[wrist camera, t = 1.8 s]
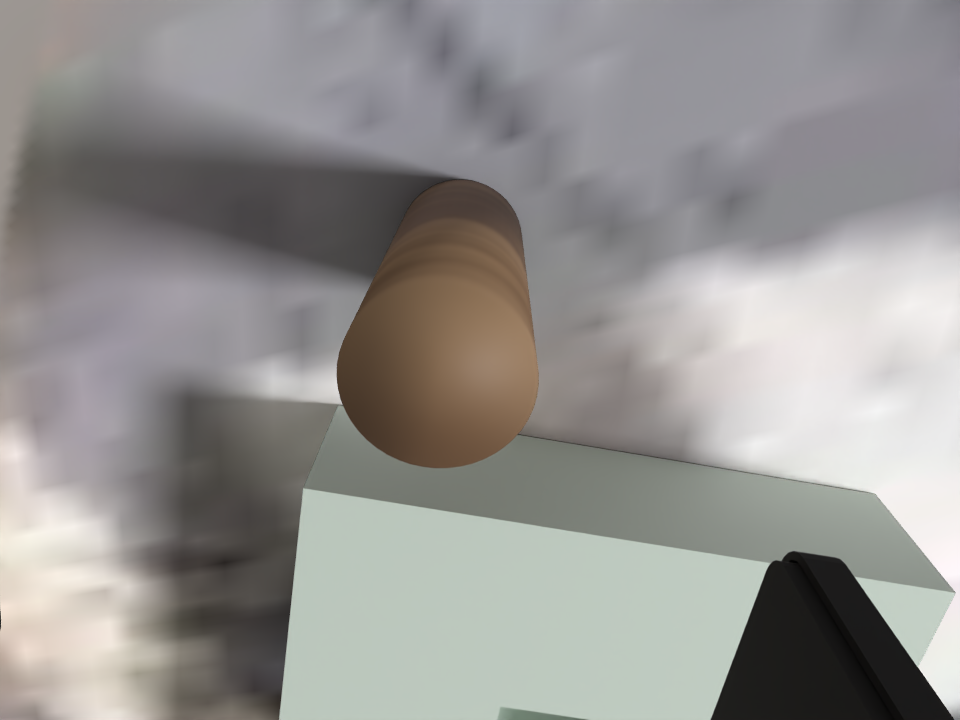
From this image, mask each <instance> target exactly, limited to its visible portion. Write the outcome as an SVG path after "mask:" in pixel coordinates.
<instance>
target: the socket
mask: <svg viewBox="0 0 960 720" xmlns="http://www.w3.org/2000/svg"><path fill="white" fill-rule="evenodd" d="M791 551H797V552H804V553H810V554H817V555H823V556H830V557H835V558H839V559H841V560H842V561H843V562H844V563H845V564H846V565H847V567H848V568H849V570H850V571H851V573H852V574H853V575H854V577H855V578H856V580H857V581H858V583H859V584H860V585H861V587H862V588H863V590H864V591H865V593H866V594H867V595H868V597H869V598H870V600H871V601H872V603H873V604H874V605H875V607H876V608H877V610H878V611H879V613H880V614H881V615H882V617H883V618H884V620H885V621H886V623H887V624H888V625H889V627H890V628H891V630H892V631H893V633H894V634H895V636H896V637H897V638H898V640H899V641H900V643H901V644H902V646H903V647H904V648H905V650H906V651H907V653H908V654H909V656H910V657H911V658H912V660H913V661H914V663H915V664H916V666H917V667H918V666H919V664H920V662H921V660H922V658H923V656H924V654H925V652H926V650H927V648H928V646H929V644H930V643H931V641H932V639H933V637H934V635H935V633H936V631H937V629H938V627H939V625H940V623H941V621H942V619H943V617H944V615H945V613H946V611H947V609H948V607H949V605H950V603H951V601H952V599H953V597H954V595H955V591H954V590H953V589H952V588H951V587H950V585H949V584H948V583H947V582H946V580H945V579H944V578H943V577H942V575H941V574H940V573H939V572H938V571H937V569H936V568H935V567H934V566H933V564H932V563H931V562H930V561H929V559H928V558H927V557H926V556H925V554H924V553H923V552H922V551H921V550H920V548H919V547H918V546H917V545H916V543H915V542H914V541H913V540H912V538H911V537H910V536H909V535H908V534H907V532H906V531H905V530H904V529H903V527H902V526H901V525H900V524H899V522H898V521H897V520H896V519H895V518H894V516H893V515H892V514H891V513H890V511H889V510H888V509H887V508H886V506H885V505H884V504H883V503H882V502H881V500H880V499H879V498H878V497H877V495H876V494H872V493H866V492H860V491H854V490H848V489H842V488H836V487H829V486H823V485H817V484H811V483H805V482H799V481H793V480H787V479H781V478H775V477H769V476H763V475H757V474H751V473H745V472H739V471H733V470H727V469H721V468H715V467H709V466H703V465H697V464H691V463H685V462H679V461H673V460H667V459H661V458H655V457H649V456H643V455H637V454H631V453H625V452H619V451H613V450H607V449H601V448H595V447H588V446H582V445H576V444H570V443H564V442H558V441H552V440H546V439H540V438H534V437H528V436H522V435H517V436H516V437H515V438H514V439H513V440H512V441H511V442H510V443H509V444H507V445H506V446H505V447H504V448H502V449H501V450H500V451H498V452H497V453H495V454H493V455H491V456H490V457H488V458H486V459H484V460H481V461H478V462H476V463H473V464H469V465H465V466H461V467H453V468H428V467H421V466H416V465H412V464H408V463H405V462H403V461H400V460H397V459H395V458H393V457H391V456H389V455H387V454H385V453H384V452H382V451H381V450H379V449H377V448H376V447H375V446H374V445H372V444H371V443H370V442H369V441H367V440H366V439H365V438H364V436H363V435H362V434H361V433H360V432H359V431H358V430H357V429H356V427H355V426H354V425H353V423H352V422H351V420H350V418H349V417H348V415H347V413H346V411H345V409H344V406H341V405H338V407H337V409H336V412H335V414H334V416H333V419H332V421H331V423H330V426H329V428H328V431H327V433H326V435H325V438H324V440H323V442H322V445H321V447H320V450H319V452H318V454H317V457H316V459H315V461H314V464H313V466H312V469H311V471H310V473H309V476H308V478H307V480H306V483H305V485H304V488H303V495H302V505H301V514H300V524H299V534H298V543H297V553H296V562H295V572H294V582H293V591H292V601H291V610H290V620H289V630H288V639H287V649H286V658H285V668H284V678H283V687H282V697H281V707H280V716H279V720H711V717H712V715H713V712H714V709H715V707H716V704H717V701H718V699H719V696H720V693H721V691H722V688H723V685H724V683H725V680H726V677H727V675H728V672H729V669H730V667H731V664H732V661H733V658H734V656H735V653H736V650H737V648H738V645H739V642H740V640H741V637H742V634H743V632H744V629H745V626H746V624H747V621H748V618H749V616H750V613H751V610H752V608H753V605H754V602H755V600H756V597H757V594H758V592H759V589H760V586H761V583H762V581H763V578H764V575H765V573H766V570H767V568H768V566H769V565H770V564H771V563H772V561H775V560H778V561H782V559H783V557H784V556H785V555H786V554H787V553H789V552H791Z"/></svg>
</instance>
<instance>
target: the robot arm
mask: <svg viewBox="0 0 960 720" xmlns="http://www.w3.org/2000/svg"><path fill="white" fill-rule="evenodd" d="M0 629H1V613H0ZM711 720H954V719H953V717H952V716H951V714H950V713H949V711H948V710H947V709H946V707H945V706H944V704H943V703H942V701H941V700H940V698H939V697H938V696H937V694H936V693H935V691H934V690H933V688H932V687H931V686H930V684H929V683H928V681H927V680H926V678H925V677H924V676H923V674H922V673H921V671H920V670H919V668H918V667H917V666H916V664H915V663H914V661H913V660H912V658H911V657H910V656H909V654H908V653H907V651H906V650H905V648H904V647H903V646H902V644H901V643H900V641H899V640H898V638H897V637H896V636H895V634H894V633H893V631H892V630H891V628H890V627H889V625H888V624H887V623H886V621H885V620H884V618H883V617H882V615H881V614H880V613H879V611H878V610H877V608H876V607H875V605H874V604H873V603H872V601H871V600H870V598H869V597H868V595H867V594H866V593H865V591H864V590H863V588H862V587H861V585H860V584H859V583H858V581H857V580H856V578H855V577H854V575H853V574H852V573H851V571H850V570H849V568H848V567H847V565H846V564H845V563H844V562H843V561H842V560H841V559H839V558H835V557H830V556H823V555H817V554H810V553H804V552H797V551H791V552H789V553H787V554H786V555H785V556H784V557H783V559H782V561H778V560H775V561H772V563H771V564H770V565H769V566H768V568H767V570H766V573H765V575H764V578H763V581H762V583H761V586H760V589H759V592H758V594H757V597H756V600H755V602H754V605H753V608H752V610H751V613H750V616H749V618H748V621H747V624H746V626H745V629H744V632H743V634H742V637H741V640H740V642H739V645H738V648H737V650H736V653H735V656H734V658H733V661H732V664H731V667H730V669H729V672H728V675H727V677H726V680H725V683H724V685H723V688H722V691H721V693H720V696H719V699H718V701H717V704H716V707H715V709H714V712H713V715H712V717H711Z"/></svg>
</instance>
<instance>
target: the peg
mask: <svg viewBox="0 0 960 720" xmlns="http://www.w3.org/2000/svg"><path fill="white" fill-rule="evenodd" d="M337 384H338V390H339V394H340V398H341V401H342V404H343V406H344V409H345V411H346V413H347V415H348V417H349V418H350V420H351V422H352V423H353V425H354V426H355V427H356V429H357V430H358V431H359V432H360V433H361V434H362V435H363V436H364V438H365V439H366V440H367V441H369V442H370V443H371V444H372V445H374V446H375V447H376V448H377V449H379V450H381V451H382V452H384V453H385V454H387V455H389V456H391V457H393V458H395V459H397V460H400V461H403V462H405V463H408V464H412V465H416V466H421V467H428V468H453V467H461V466H465V465H469V464H473V463H476V462H478V461H481V460H484V459H486V458H488V457H490V456H491V455H493V454H495V453H497V452H498V451H500V450H501V449H502V448H504V447H505V446H506V445H507V444H509V443H510V442H511V441H512V440H513V439H514V438H515V437H516V436H517V435H518V433H519V432H520V431H521V430H522V428H523V427H524V425H525V424H526V422H527V421H528V419H529V417H530V415H531V412H532V410H533V408H534V405H535V401H536V398H537V392H538V385H539V373H538V364H537V356H536V348H535V340H534V331H533V323H532V315H531V307H530V299H529V290H528V282H527V274H526V266H525V258H524V249H523V241H522V233H521V227H520V224H519V220H518V218H517V216H516V213H515V212H514V210H513V208H512V207H511V205H510V204H509V203H508V201H507V200H506V199H505V198H504V197H503V196H502V195H501V194H499V193H498V192H497V191H495V190H494V189H492V188H490V187H489V186H487V185H484V184H482V183H479V182H475V181H471V180H450V181H445V182H442V183H438V184H436V185H434V186H432V187H430V188H428V189H427V190H425V191H424V192H423V193H421V194H420V195H419V196H418V197H417V198H416V199H415V200H414V201H413V202H412V204H411V205H410V207H409V208H408V210H407V212H406V214H405V216H404V218H403V220H402V222H401V224H400V226H399V228H398V230H397V232H396V234H395V236H394V238H393V240H392V242H391V244H390V246H389V248H388V250H387V252H386V255H385V257H384V259H383V261H382V263H381V265H380V267H379V269H378V271H377V273H376V275H375V277H374V279H373V281H372V283H371V285H370V287H369V289H368V291H367V293H366V295H365V297H364V299H363V301H362V303H361V305H360V308H359V310H358V312H357V314H356V316H355V318H354V320H353V322H352V324H351V326H350V328H349V330H348V332H347V334H346V336H345V338H344V340H343V343H342V346H341V349H340V352H339V357H338V362H337Z"/></svg>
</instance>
